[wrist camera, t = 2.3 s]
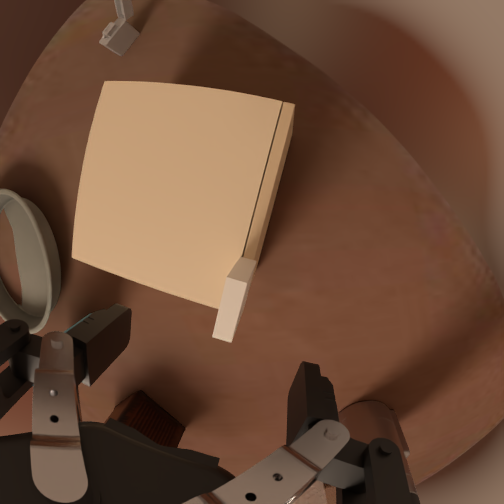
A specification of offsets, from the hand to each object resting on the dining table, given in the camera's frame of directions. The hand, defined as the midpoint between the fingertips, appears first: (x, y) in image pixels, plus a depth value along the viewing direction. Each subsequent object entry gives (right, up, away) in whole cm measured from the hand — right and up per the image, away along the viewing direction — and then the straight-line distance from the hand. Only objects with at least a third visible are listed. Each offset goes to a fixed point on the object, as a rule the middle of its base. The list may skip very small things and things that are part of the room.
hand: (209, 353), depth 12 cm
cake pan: (-38, +3, +27) cm, 46 cm away
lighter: (-14, +34, +17) cm, 40 cm away
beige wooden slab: (+4, +10, +19) cm, 22 cm away
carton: (-4, +12, +20) cm, 24 cm away
